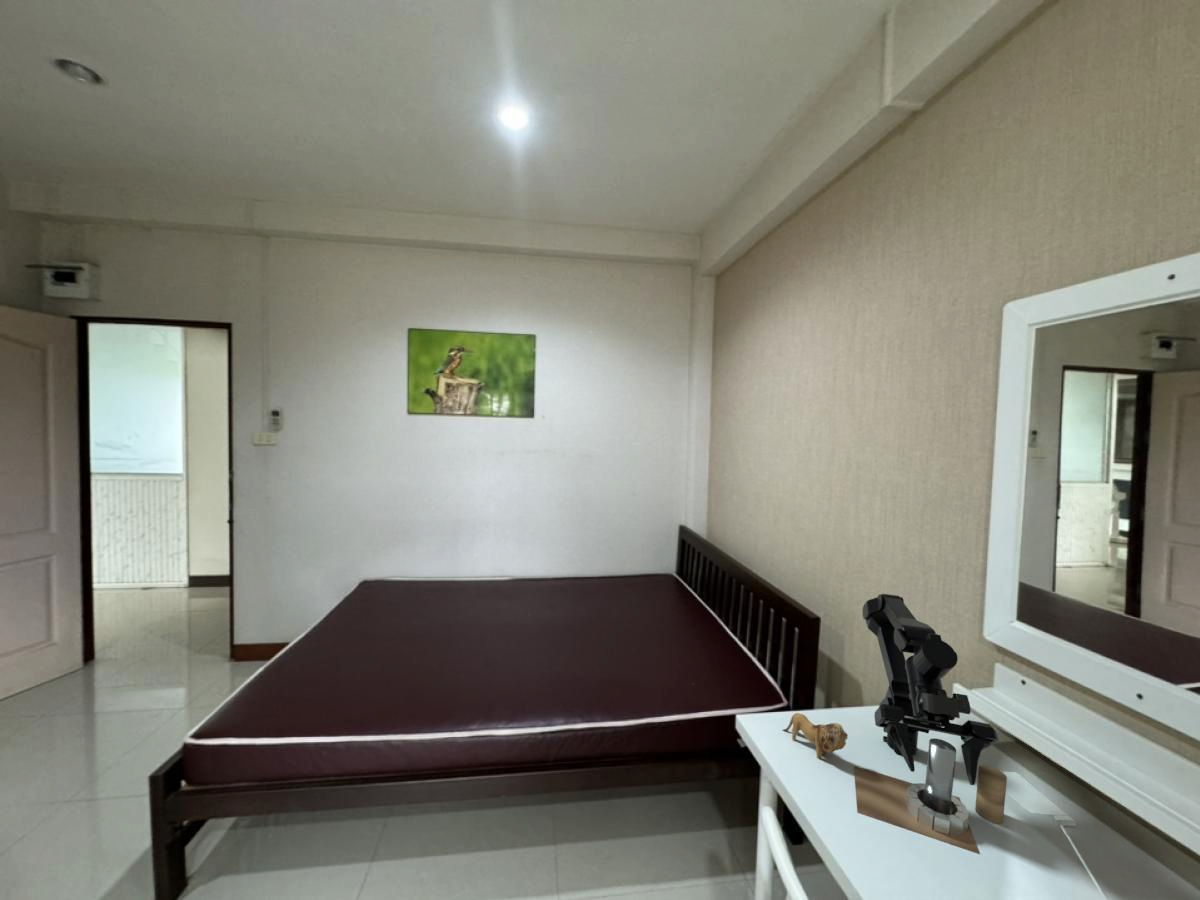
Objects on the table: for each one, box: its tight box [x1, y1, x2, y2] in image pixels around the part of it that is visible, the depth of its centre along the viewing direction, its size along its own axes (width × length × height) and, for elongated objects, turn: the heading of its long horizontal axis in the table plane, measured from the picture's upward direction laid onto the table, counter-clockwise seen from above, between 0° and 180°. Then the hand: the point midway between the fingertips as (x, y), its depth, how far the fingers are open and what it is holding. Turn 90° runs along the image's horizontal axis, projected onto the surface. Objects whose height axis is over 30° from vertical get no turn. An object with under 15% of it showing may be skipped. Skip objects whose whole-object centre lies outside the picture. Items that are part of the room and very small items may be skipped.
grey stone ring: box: [906, 782, 970, 836], centre depth 88 cm, size 9×9×2 cm
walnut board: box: [853, 765, 981, 855], centre depth 90 cm, size 14×18×1 cm
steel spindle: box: [923, 738, 957, 815], centre depth 87 cm, size 4×4×13 cm
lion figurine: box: [782, 712, 849, 760], centre depth 105 cm, size 15×5×9 cm, turn 36°
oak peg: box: [974, 764, 1007, 825], centre depth 88 cm, size 4×4×9 cm
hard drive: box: [1002, 771, 1077, 827], centre depth 94 cm, size 2×8×12 cm
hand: (942, 777), depth 86 cm, fingers open, 9 cm apart
